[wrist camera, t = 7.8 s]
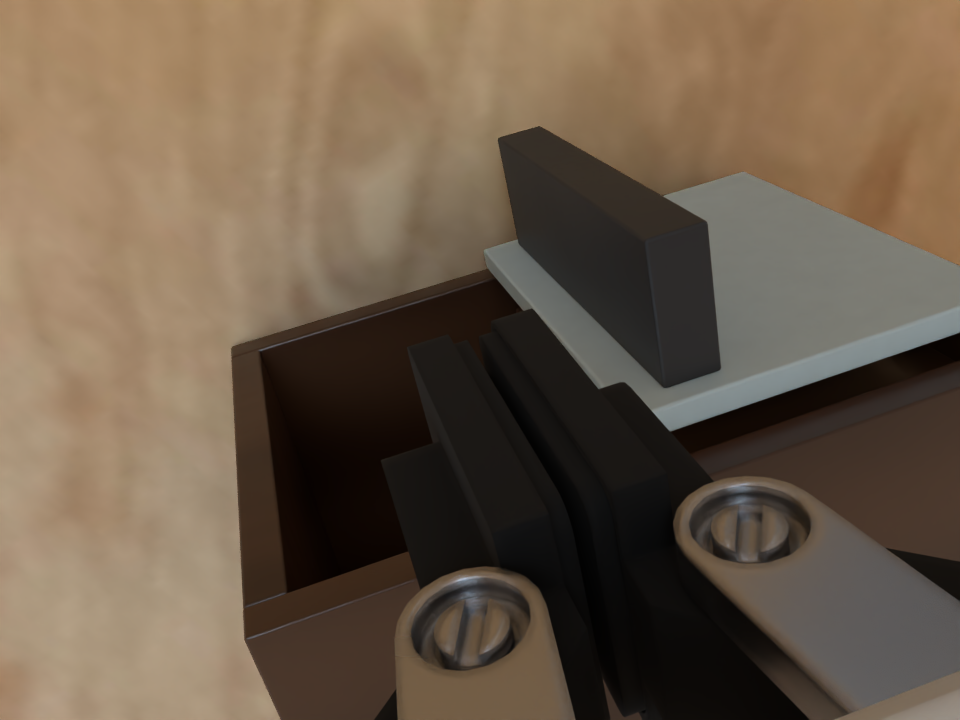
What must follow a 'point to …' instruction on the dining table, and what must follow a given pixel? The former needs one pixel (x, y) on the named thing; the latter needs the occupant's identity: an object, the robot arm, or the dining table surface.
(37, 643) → the dining table surface
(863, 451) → the cabinet
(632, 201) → the door
